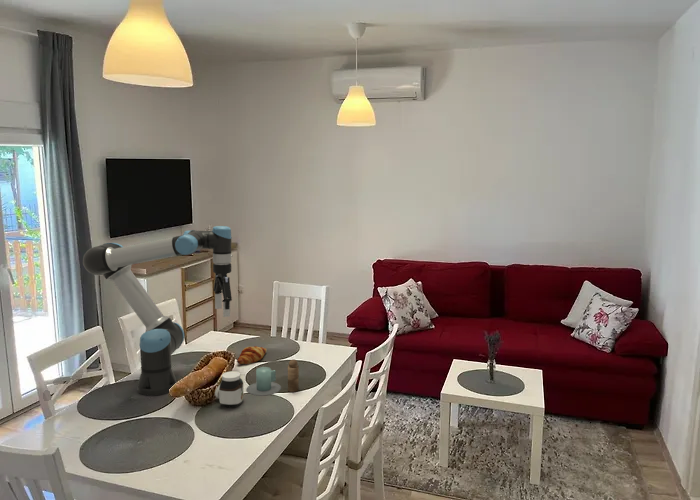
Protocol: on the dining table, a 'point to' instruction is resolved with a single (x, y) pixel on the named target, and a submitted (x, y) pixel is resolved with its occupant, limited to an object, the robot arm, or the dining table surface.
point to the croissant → (251, 355)
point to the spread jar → (230, 389)
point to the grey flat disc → (254, 391)
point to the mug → (264, 378)
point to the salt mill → (293, 376)
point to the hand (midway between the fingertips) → (222, 312)
